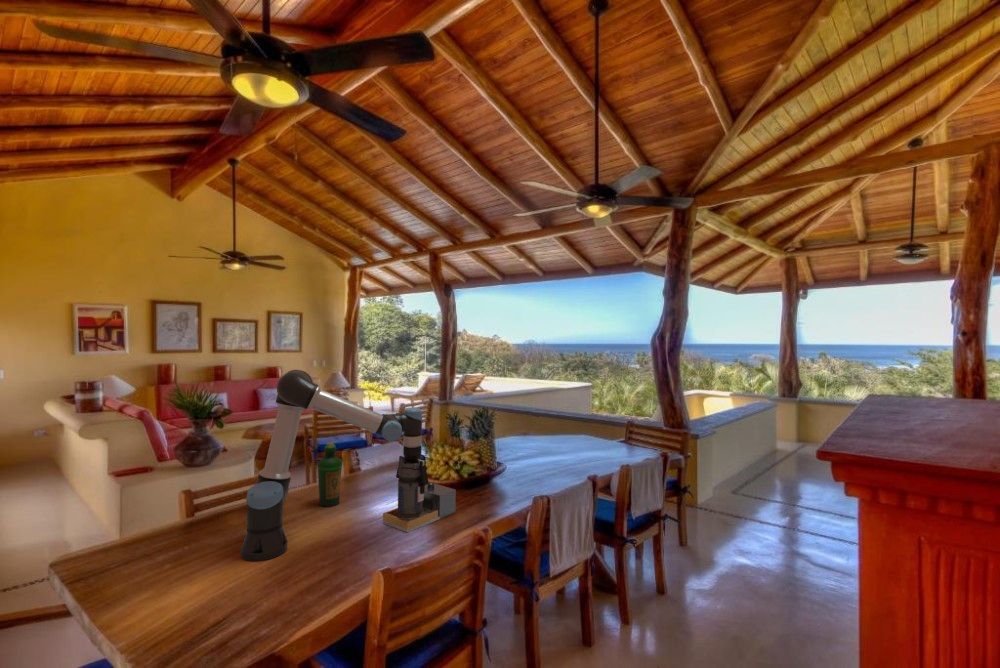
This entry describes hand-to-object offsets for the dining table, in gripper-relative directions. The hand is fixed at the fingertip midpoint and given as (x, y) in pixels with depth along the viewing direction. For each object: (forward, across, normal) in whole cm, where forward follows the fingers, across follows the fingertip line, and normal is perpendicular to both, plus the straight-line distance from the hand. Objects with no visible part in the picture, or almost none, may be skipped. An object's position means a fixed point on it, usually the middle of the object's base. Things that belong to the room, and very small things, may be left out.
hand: (411, 498), depth 201 cm
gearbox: (+10, 0, -5) cm, 11 cm away
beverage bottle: (+7, 0, 0) cm, 7 cm away
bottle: (+10, +44, +10) cm, 46 cm away
